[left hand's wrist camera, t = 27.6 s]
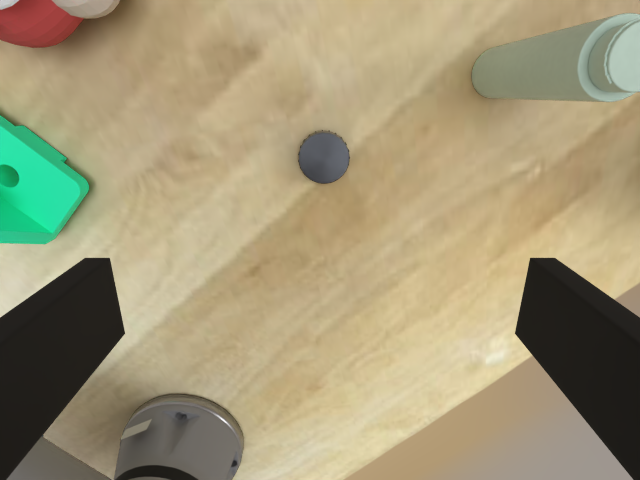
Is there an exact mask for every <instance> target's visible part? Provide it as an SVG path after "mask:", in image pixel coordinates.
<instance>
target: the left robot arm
mask: <svg viewBox="0 0 640 480" xmlns="http://www.w3.org/2000/svg"><path fill="white" fill-rule="evenodd" d="M124 334H125V331H124V326H123V321H122V316H121V311H120V306H119V301H118V297H117V292H116V287H115V282H114V277H113V272H112V267H111V262H110V258H84V259H83V260H82V261H80V262H79V263H77V264H76V265H74V266H73V267H72V268H70V269H69V270H67V271H66V272H65V273H63V274H62V275H60V276H59V277H57V278H56V279H55V280H53V281H52V282H50V283H49V284H47V285H46V286H45V287H43V288H42V289H40V290H39V291H38V292H36V293H35V294H33V295H32V296H30V297H29V298H28V299H26V300H25V301H23V302H22V303H20V304H19V305H18V306H16V307H15V308H13V309H12V310H10V311H9V312H8V313H6V314H5V315H3V316H2V317H1V318H0V480H111V479H110V478H108V477H107V476H105V475H103V474H102V473H100V472H98V471H97V470H95V469H93V468H92V467H90V466H88V465H87V464H85V463H83V462H82V461H80V460H78V459H77V458H75V457H73V456H72V455H70V454H69V453H67V452H65V451H64V450H62V449H61V448H59V447H58V446H56V445H54V444H53V443H51V442H50V441H48V440H47V439H45V438H43V434H44V433H45V431H46V430H47V429H48V428H49V427H50V425H51V424H52V423H53V422H54V420H55V419H56V418H57V417H58V415H59V414H60V413H61V412H62V411H63V409H64V408H65V407H66V406H67V404H68V403H69V402H70V401H71V399H72V398H73V397H74V396H75V394H76V393H77V392H78V391H79V390H80V388H81V387H82V386H83V385H84V383H85V382H86V381H87V380H88V378H89V377H90V376H91V375H92V373H93V372H94V371H95V370H96V369H97V367H98V366H99V365H100V364H101V362H102V361H103V360H104V359H105V357H106V356H107V355H108V354H109V353H110V351H111V350H112V349H113V348H114V346H115V345H116V344H117V343H118V341H119V340H120V339H121V338H122V336H123V335H124ZM515 334H516V335H517V336H518V338H519V339H520V340H521V341H522V343H523V344H524V345H525V346H526V348H527V349H528V350H529V351H530V353H531V354H532V355H533V356H534V357H535V359H536V360H537V361H538V362H539V364H540V365H541V366H542V367H543V368H544V370H545V371H546V372H547V373H548V375H549V376H550V377H551V378H552V380H553V381H554V382H555V383H556V385H557V386H558V387H559V388H560V390H561V391H562V392H563V393H564V394H565V396H566V397H567V398H568V399H569V401H570V402H571V403H572V404H573V406H574V407H575V408H576V409H577V410H578V412H579V413H580V414H581V415H582V417H583V418H584V419H585V420H586V422H587V423H588V424H589V425H590V427H591V428H592V429H593V430H594V431H595V433H596V434H597V435H598V436H599V438H600V439H601V440H602V441H603V443H604V444H605V445H606V446H607V447H608V449H609V450H610V451H611V452H612V454H613V455H614V456H615V457H616V459H617V460H618V461H619V462H620V464H621V465H622V466H623V467H624V468H625V470H626V471H627V472H628V473H629V475H630V476H631V477H632V478H633V480H640V318H639V317H638V316H637V315H635V314H634V313H632V312H631V311H629V310H628V309H627V308H625V307H624V306H622V305H621V304H619V303H618V302H617V301H615V300H614V299H612V298H611V297H610V296H608V295H607V294H605V293H604V292H602V291H601V290H600V289H598V288H597V287H595V286H594V285H593V284H591V283H590V282H588V281H587V280H585V279H584V278H583V277H581V276H580V275H578V274H577V273H575V272H574V271H573V270H571V269H570V268H568V267H567V266H566V265H564V264H563V263H561V262H560V261H558V260H557V259H556V258H530V262H529V267H528V272H527V277H526V282H525V287H524V292H523V297H522V301H521V306H520V311H519V316H518V321H517V326H516V331H515ZM120 440H121V443H120V450H119V455H118V460H117V465H116V471H115V477H114V480H232V479H233V477H234V475H235V474H236V472H237V470H238V468H239V465H240V462H241V458H242V453H243V448H244V440H243V435H242V432H241V429H240V427H239V425H238V424H237V422H236V421H235V419H234V418H233V417H232V416H231V415H230V414H229V413H228V412H227V411H226V410H224V409H223V408H222V407H220V406H218V405H217V404H215V403H213V402H211V401H209V400H206V399H203V398H200V397H196V396H191V395H182V394H175V395H166V396H161V397H158V398H155V399H152V400H150V401H148V402H146V403H145V404H143V405H142V406H140V407H139V408H138V409H137V410H136V411H135V412H134V414H133V415H132V417H131V418H130V420H129V422H128V423H127V425H126V427H125V429H124V431H123V434H122V437H121V439H120Z"/></svg>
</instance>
